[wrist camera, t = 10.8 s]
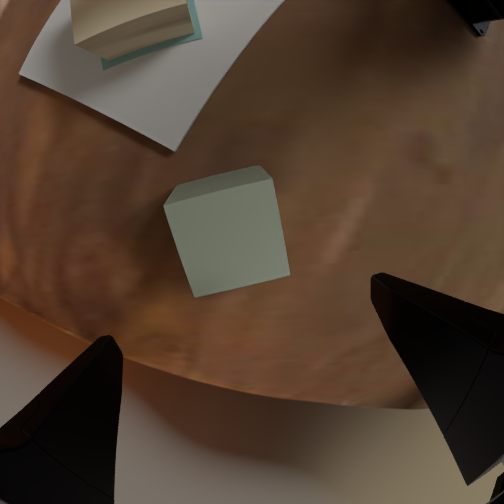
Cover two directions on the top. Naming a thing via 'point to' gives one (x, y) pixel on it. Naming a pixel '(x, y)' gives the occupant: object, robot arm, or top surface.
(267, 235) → the sage block
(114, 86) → the white square plate
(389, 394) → the top surface
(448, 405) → the robot arm
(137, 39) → the maple block
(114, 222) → the top surface
